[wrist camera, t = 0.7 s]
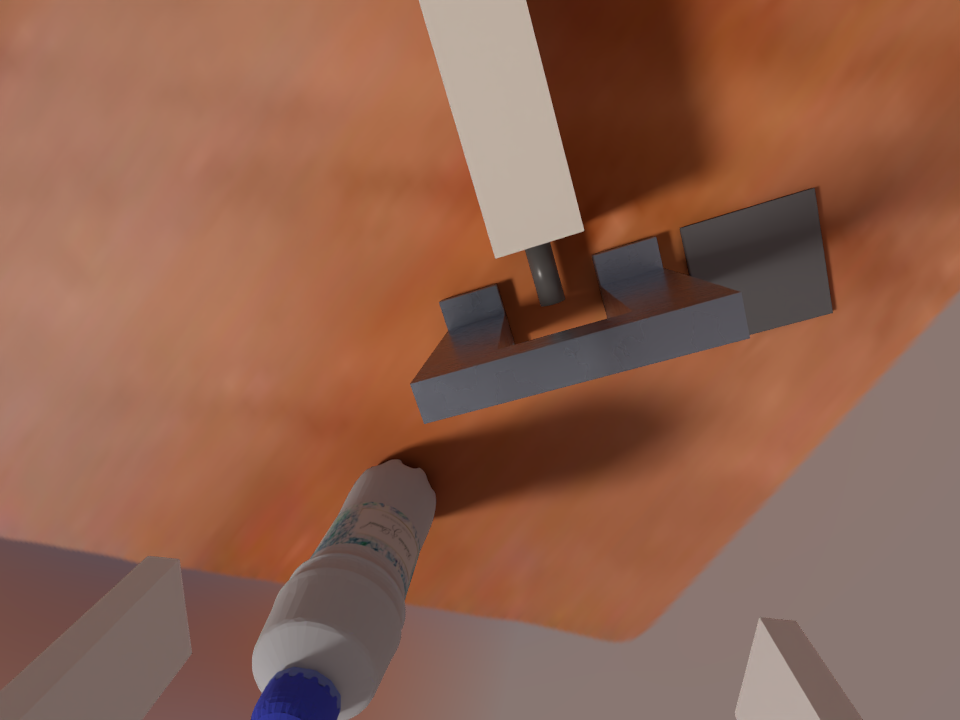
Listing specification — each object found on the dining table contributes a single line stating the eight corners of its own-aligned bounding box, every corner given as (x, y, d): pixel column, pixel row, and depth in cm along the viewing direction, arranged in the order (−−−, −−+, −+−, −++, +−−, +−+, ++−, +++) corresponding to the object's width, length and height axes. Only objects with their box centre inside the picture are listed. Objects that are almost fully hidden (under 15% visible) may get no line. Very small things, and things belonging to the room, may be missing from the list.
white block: (426, -12, 30) (387, -107, 22) (498, -41, 30) (487, -151, 21) (519, 306, 35) (517, 334, 26) (583, 287, 34) (604, 309, 25)
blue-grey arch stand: (441, 300, 35) (395, 342, 22) (652, 236, 33) (732, 244, 20) (467, 380, 36) (437, 462, 24) (671, 324, 34) (758, 382, 21)
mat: (679, 228, 32) (681, 228, 32) (811, 188, 31) (814, 188, 31) (704, 344, 34) (706, 346, 34) (829, 311, 33) (832, 312, 33)
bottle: (460, 491, 39) (397, 758, 19) (402, 543, 40) (291, 836, 21) (396, 432, 38) (263, 649, 18) (339, 487, 39) (163, 739, 20)
